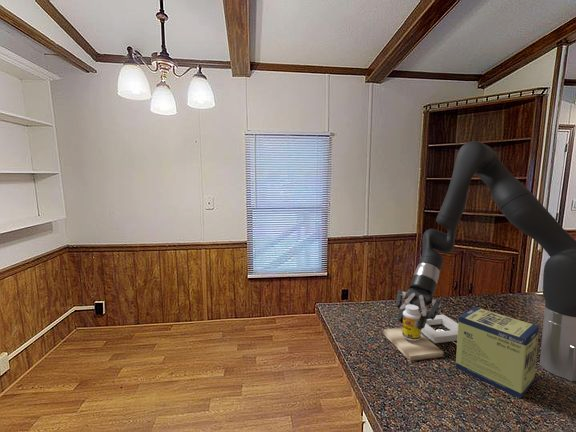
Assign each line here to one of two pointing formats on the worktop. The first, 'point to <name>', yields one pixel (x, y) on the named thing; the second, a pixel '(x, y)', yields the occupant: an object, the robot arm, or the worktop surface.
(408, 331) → the supplement bottle
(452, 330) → the collar stand
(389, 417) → the worktop surface
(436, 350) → the birch board
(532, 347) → the protein box
